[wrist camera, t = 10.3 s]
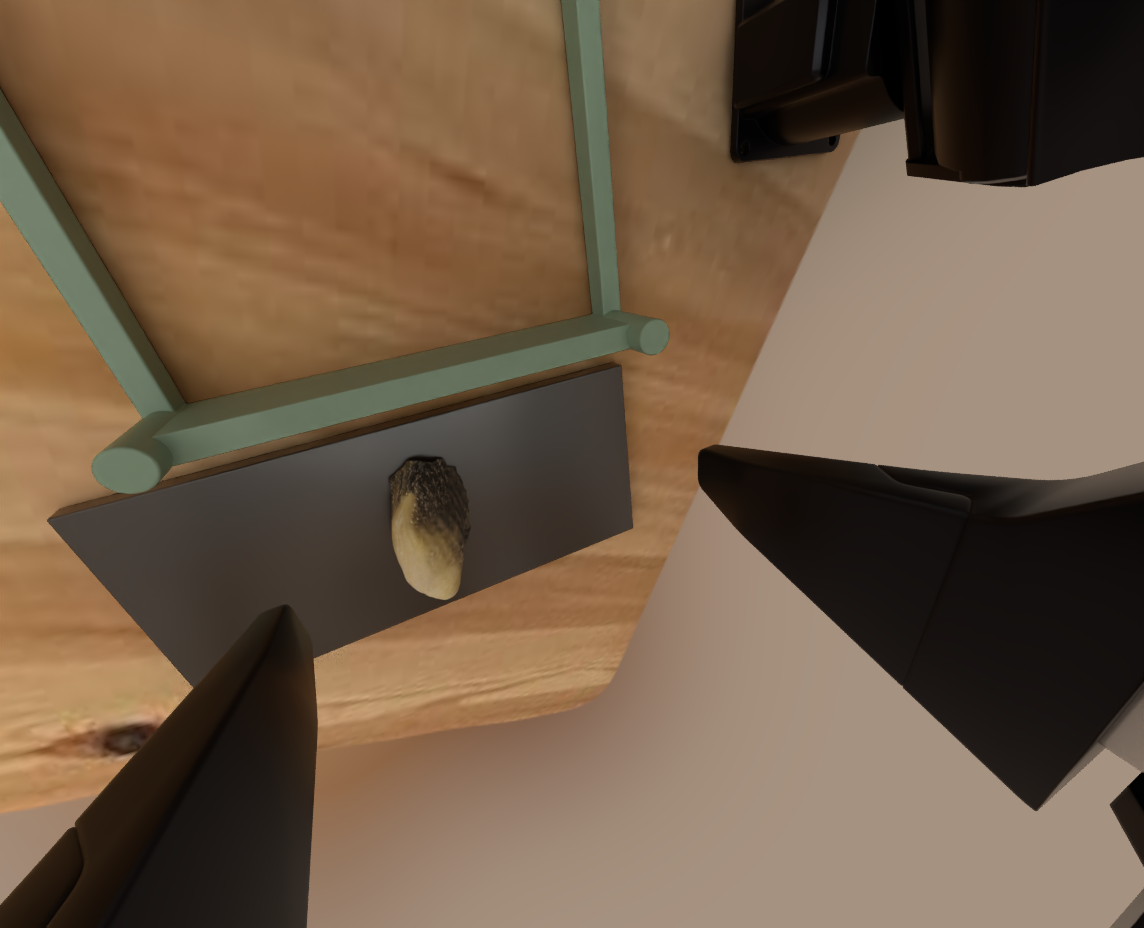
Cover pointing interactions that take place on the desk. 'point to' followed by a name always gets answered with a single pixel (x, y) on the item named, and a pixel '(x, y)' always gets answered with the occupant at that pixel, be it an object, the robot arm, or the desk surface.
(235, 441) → the frame
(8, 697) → the desk surface
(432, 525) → the brazil nut
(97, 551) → the board
